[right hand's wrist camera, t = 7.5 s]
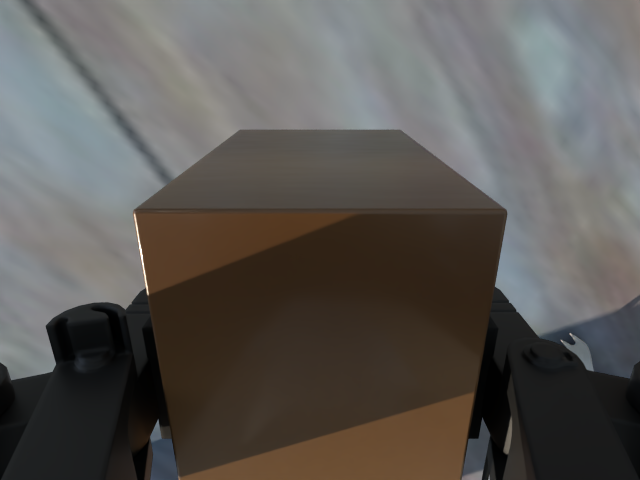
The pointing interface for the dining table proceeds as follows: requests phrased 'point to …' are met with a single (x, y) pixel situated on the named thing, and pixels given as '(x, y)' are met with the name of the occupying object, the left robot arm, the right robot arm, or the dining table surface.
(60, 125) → the dining table surface
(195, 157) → the dining table surface
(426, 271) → the bar
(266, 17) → the dining table surface
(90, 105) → the dining table surface
